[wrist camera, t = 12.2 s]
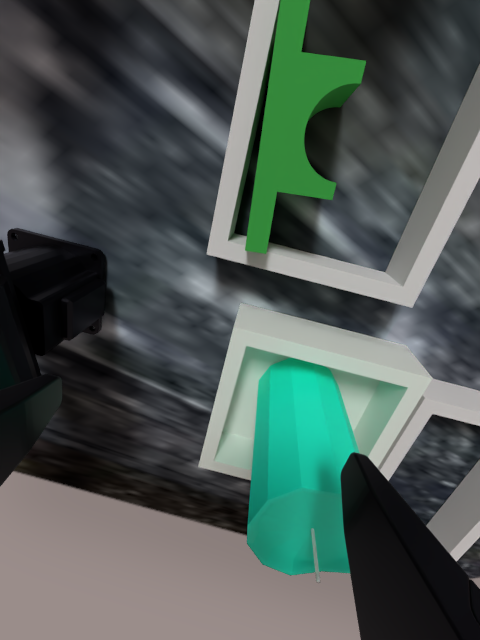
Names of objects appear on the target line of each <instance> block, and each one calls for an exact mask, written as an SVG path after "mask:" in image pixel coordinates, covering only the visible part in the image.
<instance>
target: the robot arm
mask: <svg viewBox="0 0 480 640" xmlns="http://www.w3.org/2000/svg"><path fill="white" fill-rule="evenodd" d="M16 234H17V235H18V239H17V237H16ZM7 236H8V247H9V253H5V254H4V253H3V252H4V251H5V248H4V245H3V241H2V240H0V486H1V485H2V484H3V483H4V481H5V480H6V479H7V478H8V477H9V475H10V474H11V473H12V472H13V470H14V469H15V468H16V467H17V466H18V464H19V463H20V462H21V461H22V460H23V458H24V457H25V456H26V454H27V453H28V452H29V451H30V449H31V448H32V446H33V445H34V444H35V442H36V441H37V439H38V438H39V436H40V435H41V433H42V432H43V430H44V429H45V427H46V426H47V424H48V423H49V421H50V420H51V418H52V417H53V415H54V414H55V412H56V411H57V409H58V408H59V406H60V404H61V402H62V379H61V377H59V376H55V375H51V374H44V375H41V373H40V369H39V366H38V363H37V360H36V356H35V354H36V355H40V356H43V355H45V354H46V353H47V352H49V351H50V350H51V349H53V348H54V347H55V346H57V345H58V344H59V343H61V342H62V341H63V340H68V341H69V340H71V339H73V338H74V337H76V336H77V335H78V334H80V333H81V332H85V333H89V334H97V333H98V332H99V331H100V330H101V323H102V316H103V315H104V310H105V290H106V284H105V282H104V259H105V258H104V254H103V252H102V251H101V250H99V249H96V248H92V247H88V246H84V245H81V244H77V243H73V242H69V241H65V240H61V239H57V238H54V237H50V236H46V235H42V234H38V233H34V232H30V231H27V230H23V229H19V228H15V229H10V230H9V231H8V234H7ZM94 254H96V255H97V256H98V260H97V259H95V257H94ZM92 326H94V327H95V329H93V328H92ZM341 495H342V512H343V527H344V536H345V543H346V549H347V555H348V562H349V568H350V574H351V580H352V586H353V593H354V599H355V605H356V611H357V618H358V624H359V630H360V637H361V640H480V589H479V588H478V587H477V585H476V584H475V583H474V582H473V581H472V580H469V576H468V575H467V574H466V573H465V571H464V570H463V569H462V568H461V567H460V565H459V564H458V563H457V562H456V561H455V559H454V558H453V557H452V556H451V555H450V554H449V552H448V551H447V550H446V549H445V548H444V546H443V545H442V544H441V543H440V542H439V541H438V539H437V538H436V537H435V536H434V535H433V533H432V532H431V531H430V530H429V529H428V528H427V526H426V525H425V524H424V523H423V522H422V520H421V519H420V518H419V517H418V516H417V514H416V513H415V512H414V511H413V510H412V509H411V507H410V506H409V505H408V504H407V503H406V501H405V500H404V499H403V498H402V497H401V496H400V494H399V493H398V492H397V491H396V490H395V488H394V487H393V486H392V485H391V484H390V483H389V481H388V480H387V479H386V478H385V477H384V475H383V474H382V473H381V472H380V471H379V469H378V468H377V467H376V466H375V465H374V464H373V462H372V461H371V460H370V459H369V458H368V457H367V456H366V455H364V454H360V453H356V452H352V453H351V454H350V456H349V457H348V459H347V461H346V463H345V465H344V467H343V468H342V471H341Z"/></svg>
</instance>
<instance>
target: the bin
mask: <svg viewBox="0 0 480 640" xmlns="http://www.w3.org/2000/svg"><path fill="white" fill-rule="evenodd" d="M288 358H296V359H300V360H303V361H307V362H311V363H315V364H319V365H323V366H325V367H327V368H328V369H330V370H331V372H332V374H333V376H334V378H335V380H336V382H337V384H338V386H339V389H340V392H341V396H342V399H343V402H344V405H345V408H346V411H347V414H348V418H349V421H350V424H351V427H352V430H353V433H354V437H355V440H356V443H357V446H358V449H359V452H360V454H364V455H366V456H367V457H368V458H369V459H370V460H371V461H372V462H373V464H374V465H375V466H376V467H377V468H378V466H379V465H380V463H381V461H382V460H383V458H384V457H385V455H386V453H387V452H388V450H389V448H390V447H391V445H392V444H393V442H394V440H395V439H396V437H397V435H398V434H399V432H400V431H401V429H402V427H403V426H404V424H405V422H406V421H407V419H408V418H409V416H410V414H411V413H412V411H413V409H414V408H415V406H416V405H417V403H418V401H419V400H420V398H421V396H422V395H423V393H424V392H425V390H426V388H427V387H428V385H429V384H430V382H431V380H432V379H433V378H432V377H431V376H430V375H429V373H428V372H427V371H426V370H425V368H424V367H423V366H422V365H421V363H420V362H419V361H418V360H417V358H416V357H415V356H414V355H413V354H412V352H411V351H410V350H409V349H408V347H407V346H406V345H402V344H399V343H395V342H391V341H387V340H383V339H379V338H375V337H371V336H368V335H364V334H360V333H356V332H352V331H348V330H344V329H341V328H337V327H333V326H329V325H325V324H321V323H317V322H314V321H310V320H306V319H302V318H298V317H294V316H290V315H287V314H283V313H279V312H275V311H271V310H267V309H263V308H260V307H256V306H252V305H248V304H244V303H240V306H239V310H238V313H237V317H236V321H235V324H234V328H233V332H232V336H231V340H230V344H229V348H228V351H227V355H226V359H225V363H224V367H223V371H222V375H221V379H220V383H219V387H218V391H217V395H216V399H215V403H214V407H213V411H212V414H211V418H210V422H209V426H208V430H207V434H206V438H205V442H204V446H203V450H202V454H201V458H200V462H199V466H198V467H201V468H205V469H209V470H213V471H217V472H220V473H224V474H228V475H232V476H236V477H240V478H244V479H248V480H251V474H252V461H253V448H254V435H255V422H256V409H257V396H258V384H259V379H260V378H261V377H262V375H263V374H264V373H265V372H266V370H267V369H268V368H269V367H270V365H273V364H275V363H278V362H280V361H283V360H285V359H288Z"/></svg>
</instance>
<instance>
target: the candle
mask: <svg viewBox="0 0 480 640" xmlns="http://www.w3.org/2000/svg"><path fill="white" fill-rule="evenodd" d="M352 452H356V453H360V452H359V449H358V446H357V443H356V440H355V437H354V433H353V430H352V427H351V424H350V421H349V418H348V414H347V411H346V408H345V405H344V402H343V399H342V396H341V392H340V389H339V386H338V384H337V382H336V380H335V378H334V376H333V374H332V372H331V370H330V369H328V368H327V367H325V366H323V365H319V364H315V363H311V362H307V361H303V360H300V359H296V358H288V359H285V360H283V361H280V362H278V363H275V364H273V365H270V367H269V368H268V369H267V370H266V372H265V373H264V374H263V375H262V377H261V378H260V379H259V384H258V396H257V409H256V422H255V435H254V448H253V461H252V474H251V487H250V500H249V513H248V527H247V544H248V546H249V547H250V548H251V549H252V551H253V552H254V554H255V555H256V556H257V558H258V559H259V560H260V562H261V563H262V564H263V565H266V566H268V567H270V568H273V569H275V570H278V571H280V572H283V573H285V574H288V575H297V574H305V573H313V572H315V573H316V582H317V583H320V576H319V572H321V571H325V572H340V573H350V568H349V562H348V555H347V549H346V543H345V536H344V527H343V512H342V495H341V471H342V468H343V467H344V465H345V463H346V461H347V459H348V457H349V456H350V454H351V453H352Z"/></svg>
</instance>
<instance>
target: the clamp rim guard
mask: <svg viewBox="0 0 480 640" xmlns="http://www.w3.org/2000/svg"><path fill="white" fill-rule="evenodd" d="M280 1H281V0H255V2H254V7H253V13H252V18H251V23H250V29H249V34H248V39H247V44H246V50H245V55H244V60H243V65H242V71H241V76H240V81H239V86H238V92H237V97H236V102H235V108H234V113H233V118H232V123H231V129H230V134H229V139H228V144H227V150H226V155H225V160H224V165H223V171H222V176H221V181H220V186H219V192H218V197H217V202H216V208H215V213H214V218H213V223H212V229H211V234H210V239H209V244H208V250H207V255H211V256H215V257H219V258H223V259H227V260H230V261H234V262H238V263H242V264H246V265H250V266H254V267H257V268H261V269H265V270H269V271H273V272H277V273H281V274H284V275H288V276H292V277H296V278H300V279H304V280H307V281H311V282H315V283H319V284H323V285H327V286H331V287H334V288H338V289H342V290H346V291H350V292H354V293H358V294H361V295H365V296H369V297H373V298H377V299H381V300H385V301H388V302H392V303H396V304H400V305H404V306H408V307H411V308H412V307H413V305H414V303H415V301H416V299H417V297H418V295H419V294H420V292H421V290H422V288H423V286H424V284H425V282H426V280H427V278H428V276H429V274H430V272H431V270H432V268H433V267H434V265H435V263H436V261H437V259H438V257H439V255H440V253H441V251H442V249H443V247H444V245H445V243H446V241H447V239H448V238H449V236H450V234H451V232H452V230H453V228H454V226H455V224H456V222H457V220H458V218H459V216H460V214H461V212H462V211H463V209H464V207H465V205H466V203H467V201H468V199H469V197H470V195H471V193H472V191H473V189H474V187H475V185H476V184H477V182H478V180H479V178H480V64H479V66H478V69H477V71H476V73H475V75H474V78H473V80H472V82H471V84H470V86H469V89H468V91H467V93H466V95H465V97H464V100H463V102H462V104H461V106H460V108H459V111H458V113H457V115H456V117H455V119H454V122H453V124H452V126H451V128H450V130H449V133H448V135H447V137H446V139H445V142H444V144H443V146H442V148H441V150H440V153H439V155H438V157H437V159H436V161H435V164H434V166H433V168H432V170H431V172H430V175H429V177H428V179H427V181H426V183H425V186H424V188H423V190H422V192H421V194H420V197H419V199H418V201H417V203H416V206H415V208H414V210H413V212H412V214H411V217H410V219H409V221H408V223H407V225H406V228H405V230H404V232H403V234H402V236H401V239H400V241H399V243H398V245H397V247H396V250H395V252H394V254H393V256H392V258H391V261H390V263H389V265H388V267H387V270H386V272H382V271H378V270H374V269H370V268H366V267H362V266H358V265H355V264H351V263H347V262H343V261H339V260H335V259H332V258H328V257H324V256H320V255H316V254H312V253H308V252H305V251H301V250H297V249H293V248H289V247H285V246H282V245H278V244H274V243H270V242H268V247H267V253H266V254H263V253H256V252H250V251H245V246H246V239H247V236H243V235H239V234H235V233H234V231H235V226H236V222H237V217H238V213H239V208H240V204H241V199H242V195H243V190H244V186H245V181H246V177H247V172H248V168H249V163H250V159H251V154H252V150H253V145H254V141H255V136H256V132H257V127H258V123H259V118H260V114H261V109H262V105H263V100H264V96H265V91H266V87H267V82H268V78H269V73H270V69H271V64H272V57H273V50H274V43H275V36H276V29H277V22H278V15H279V8H280Z"/></svg>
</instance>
